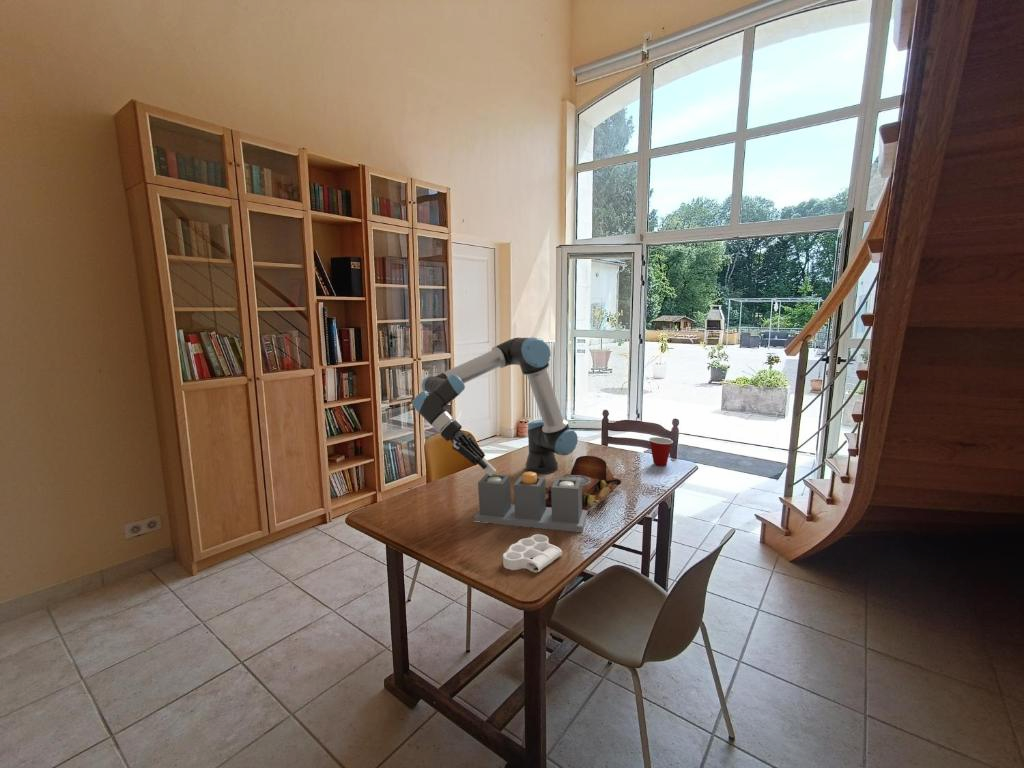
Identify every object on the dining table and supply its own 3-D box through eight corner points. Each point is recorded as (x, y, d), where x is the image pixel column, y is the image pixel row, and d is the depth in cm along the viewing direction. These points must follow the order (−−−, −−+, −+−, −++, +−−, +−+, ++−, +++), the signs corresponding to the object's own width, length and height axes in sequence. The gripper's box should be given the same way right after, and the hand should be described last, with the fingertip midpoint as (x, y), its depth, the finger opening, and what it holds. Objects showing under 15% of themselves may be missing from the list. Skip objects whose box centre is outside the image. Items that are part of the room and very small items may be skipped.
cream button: (558, 497, 155) (558, 485, 155) (560, 491, 160) (560, 480, 159) (573, 498, 154) (572, 486, 153) (575, 492, 159) (575, 481, 158)
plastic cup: (676, 467, 210) (676, 442, 208) (652, 468, 210) (652, 442, 208) (668, 460, 220) (668, 436, 219) (645, 461, 221) (646, 436, 219)
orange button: (521, 487, 159) (520, 476, 158) (524, 482, 163) (524, 471, 163) (535, 488, 157) (534, 476, 157) (538, 483, 162) (537, 472, 161)
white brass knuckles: (531, 580, 125) (492, 563, 134) (568, 553, 138) (530, 539, 148) (531, 569, 124) (491, 553, 134) (568, 543, 138) (530, 530, 147)
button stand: (474, 522, 161) (472, 484, 159) (486, 507, 173) (484, 471, 171) (582, 532, 150) (581, 491, 149) (587, 515, 163) (586, 477, 161)
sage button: (485, 492, 162) (485, 481, 162) (490, 487, 167) (489, 476, 167) (499, 493, 161) (498, 482, 161) (503, 487, 166) (503, 477, 165)
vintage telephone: (628, 455, 192) (594, 486, 159) (628, 483, 194) (594, 520, 160) (574, 448, 205) (532, 476, 171) (575, 475, 207) (533, 507, 173)
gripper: (448, 429, 173) (492, 473, 171) (433, 438, 161) (480, 486, 158) (460, 415, 171) (505, 460, 168) (446, 423, 158) (494, 472, 156)
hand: (493, 473), depth 163 cm, fingers closed
